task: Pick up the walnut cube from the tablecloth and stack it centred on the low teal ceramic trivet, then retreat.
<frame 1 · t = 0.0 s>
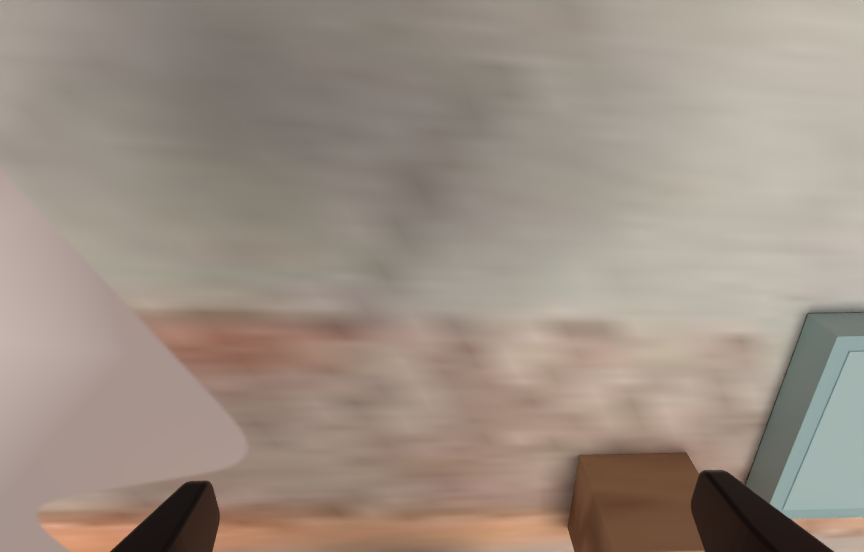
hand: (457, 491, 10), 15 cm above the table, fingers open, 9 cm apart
walnut cube: (624, 490, 31), on the table
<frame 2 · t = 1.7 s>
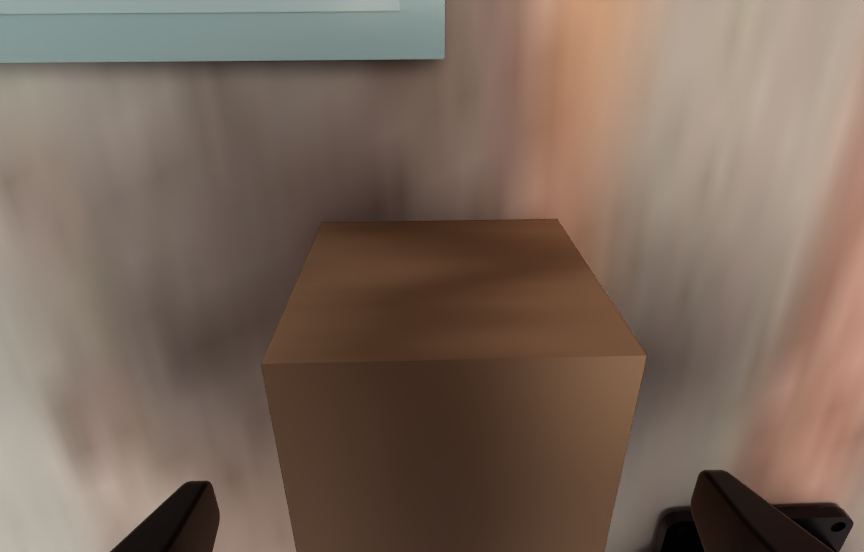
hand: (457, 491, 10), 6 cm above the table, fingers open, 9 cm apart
walnut cube: (439, 319, 15), on the table
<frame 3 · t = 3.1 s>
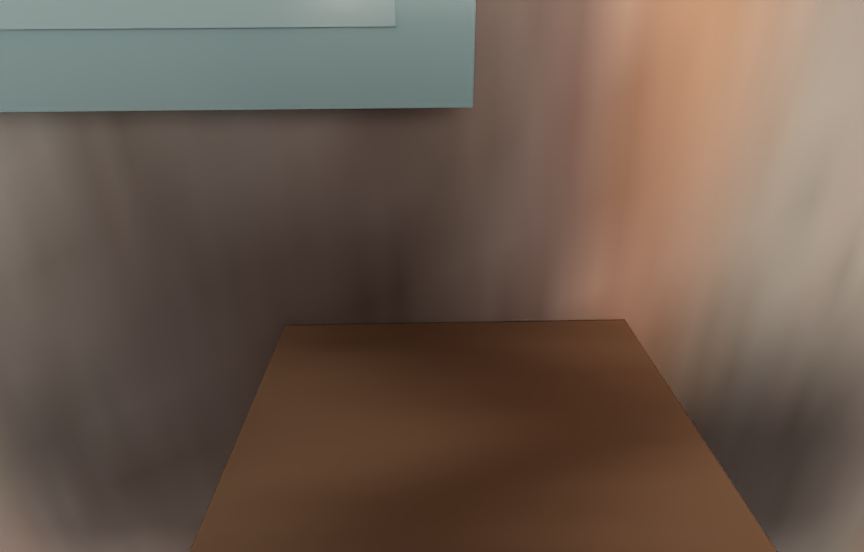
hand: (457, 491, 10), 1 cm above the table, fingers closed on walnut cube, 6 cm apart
walnut cube: (453, 449, 11), on the table, touching gripper
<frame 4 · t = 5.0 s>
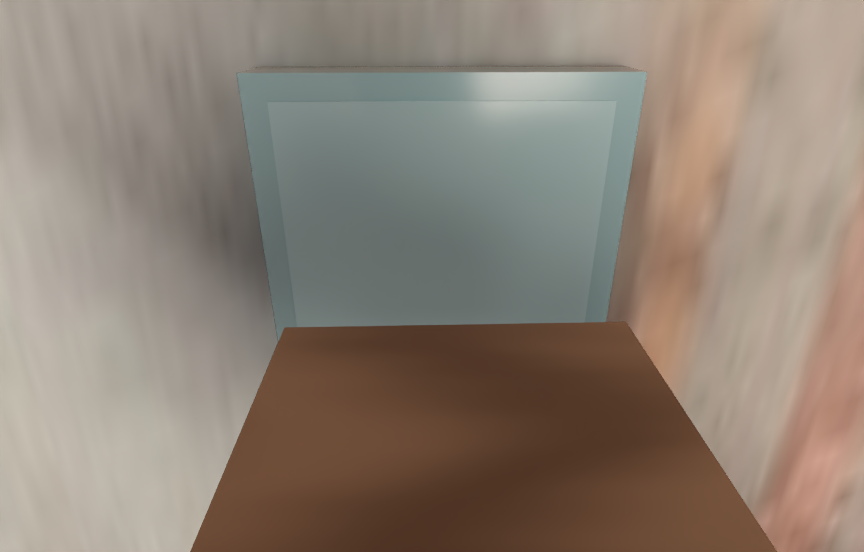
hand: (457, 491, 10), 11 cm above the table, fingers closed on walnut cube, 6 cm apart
walnut cube: (453, 451, 11), point 10 cm above the table, touching gripper
trivet: (440, 237, 20), on the table
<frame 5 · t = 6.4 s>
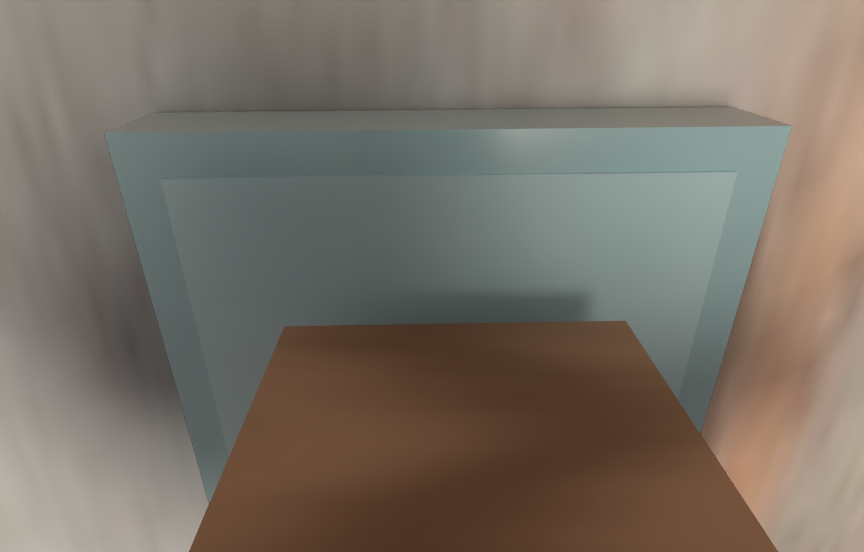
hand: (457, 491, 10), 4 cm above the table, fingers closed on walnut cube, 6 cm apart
walnut cube: (453, 450, 11), point 3 cm above the table, touching gripper
trivet: (445, 348, 14), on the table
when the fingers open (4 cm above the table, at t = 7.1 s): walnut cube drops 1 cm, resting on trivet.
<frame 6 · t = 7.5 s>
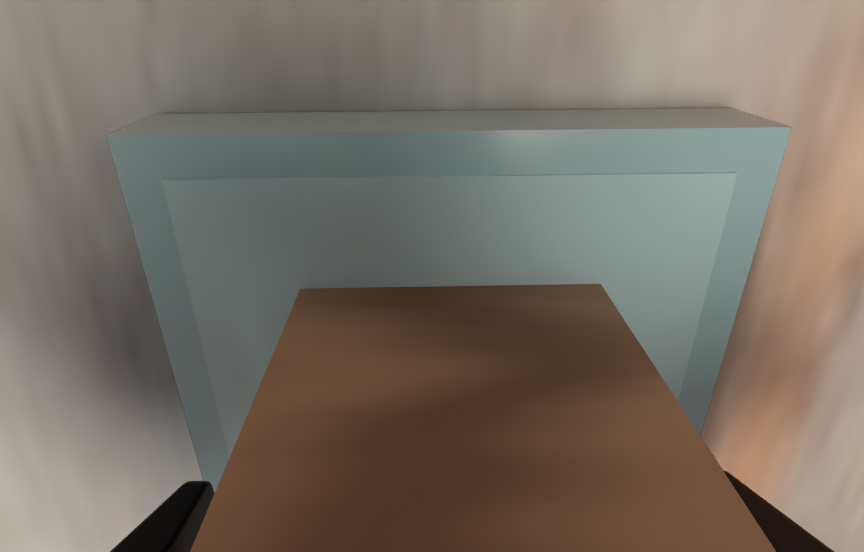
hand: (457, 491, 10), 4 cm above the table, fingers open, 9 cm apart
walnut cube: (449, 403, 12), point 2 cm above the table, touching trivet
trivet: (445, 349, 14), on the table
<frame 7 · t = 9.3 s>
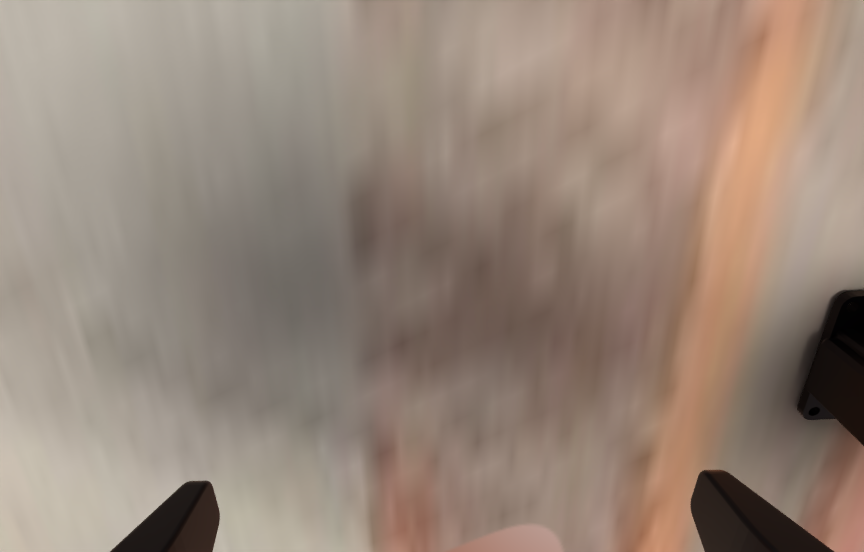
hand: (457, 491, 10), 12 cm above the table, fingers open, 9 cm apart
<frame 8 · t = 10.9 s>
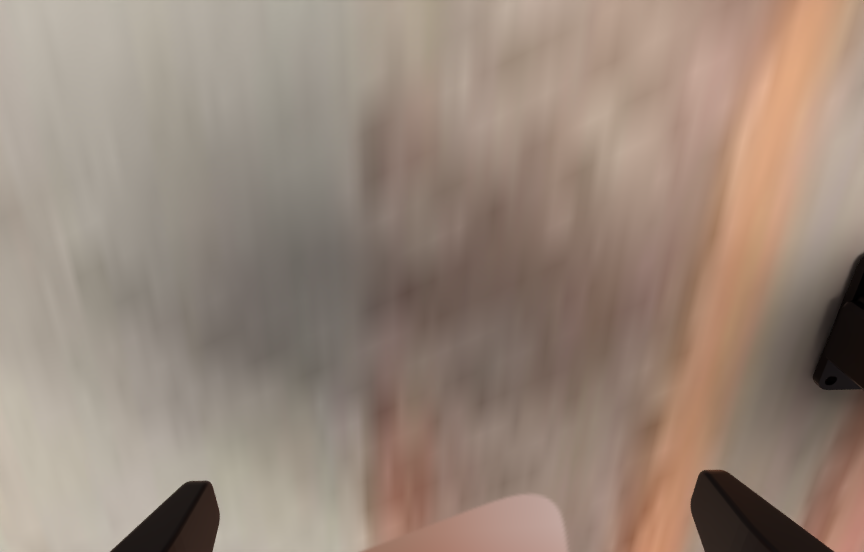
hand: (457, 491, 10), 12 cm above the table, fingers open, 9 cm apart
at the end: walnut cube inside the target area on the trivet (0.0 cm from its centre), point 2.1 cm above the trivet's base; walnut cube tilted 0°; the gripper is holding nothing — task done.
